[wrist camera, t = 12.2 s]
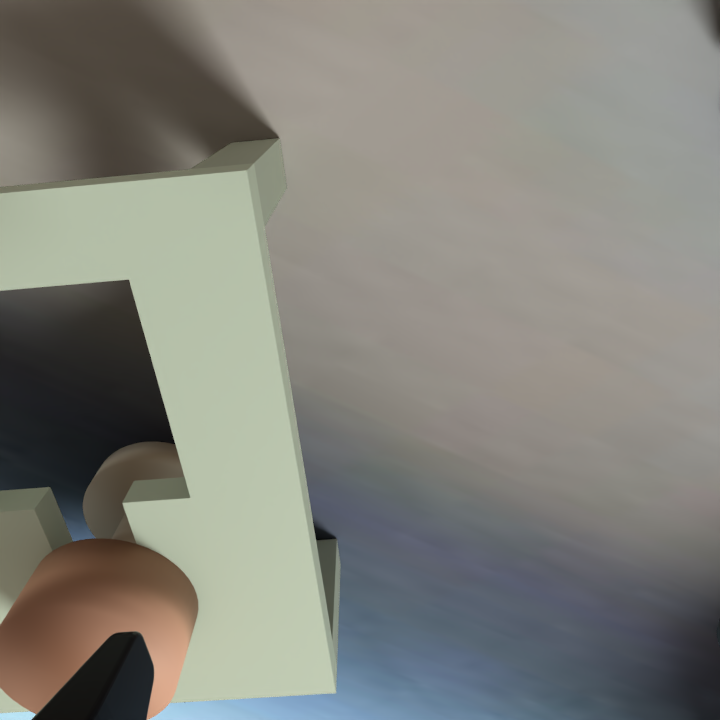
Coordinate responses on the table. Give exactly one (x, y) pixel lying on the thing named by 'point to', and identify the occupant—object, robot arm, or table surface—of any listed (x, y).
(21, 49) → the table surface
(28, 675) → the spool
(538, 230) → the table surface
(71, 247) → the keyhole board
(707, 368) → the table surface
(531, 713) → the table surface
